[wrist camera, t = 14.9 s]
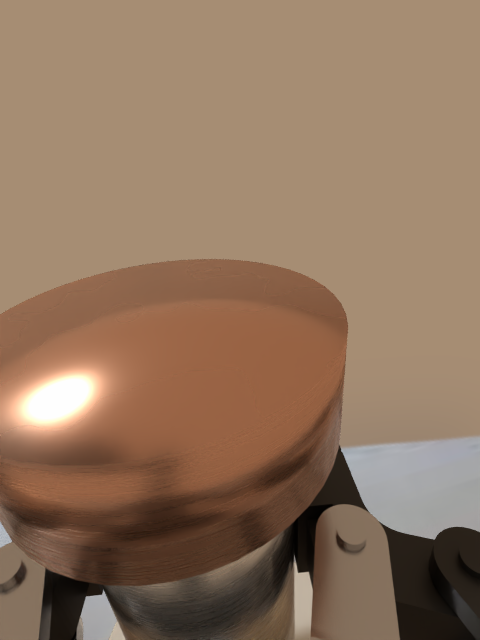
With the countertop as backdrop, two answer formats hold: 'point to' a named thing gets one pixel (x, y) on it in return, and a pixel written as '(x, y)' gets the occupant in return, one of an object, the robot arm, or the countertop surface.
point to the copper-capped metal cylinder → (173, 438)
